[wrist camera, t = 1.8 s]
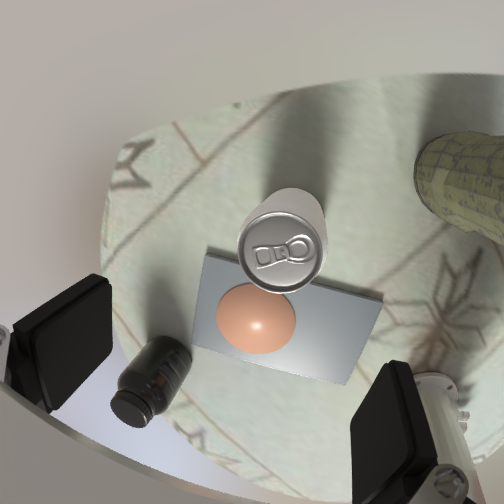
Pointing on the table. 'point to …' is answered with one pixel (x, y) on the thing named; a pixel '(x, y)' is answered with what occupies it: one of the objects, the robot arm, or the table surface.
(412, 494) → the robot arm
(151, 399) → the supplement bottle
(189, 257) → the table surface
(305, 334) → the card
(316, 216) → the can
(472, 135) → the thermos
